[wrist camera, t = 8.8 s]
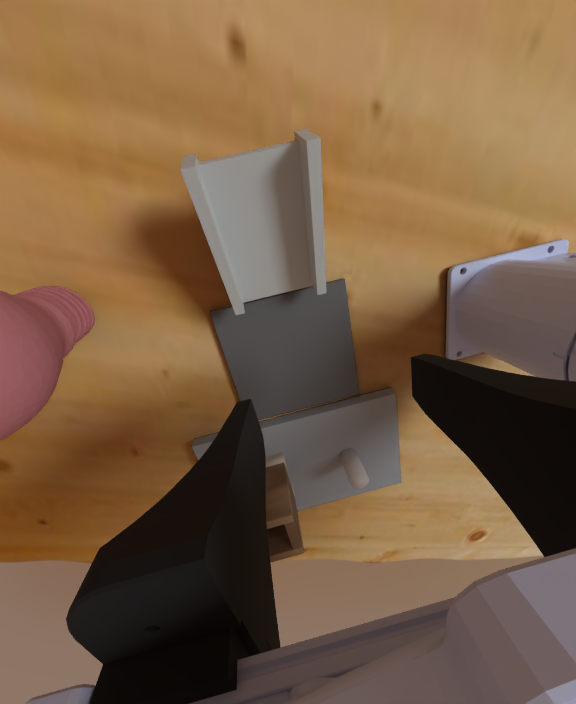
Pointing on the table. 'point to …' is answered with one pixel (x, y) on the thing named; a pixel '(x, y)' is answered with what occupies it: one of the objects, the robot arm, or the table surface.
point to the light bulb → (36, 348)
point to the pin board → (334, 447)
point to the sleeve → (281, 511)
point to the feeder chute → (263, 217)
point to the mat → (290, 349)
